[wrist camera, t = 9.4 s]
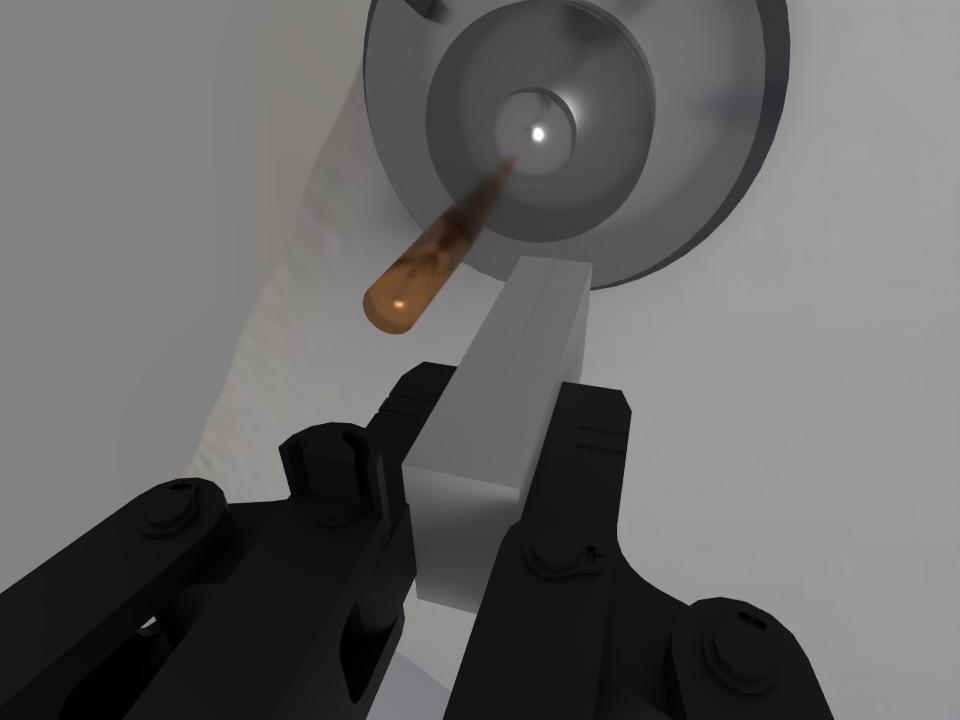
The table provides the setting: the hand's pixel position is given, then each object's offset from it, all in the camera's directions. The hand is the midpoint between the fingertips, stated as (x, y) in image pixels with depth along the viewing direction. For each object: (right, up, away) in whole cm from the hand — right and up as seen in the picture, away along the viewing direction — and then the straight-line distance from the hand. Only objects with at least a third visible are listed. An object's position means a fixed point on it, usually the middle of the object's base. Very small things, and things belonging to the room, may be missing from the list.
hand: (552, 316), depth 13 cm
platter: (+1, +10, +12) cm, 16 cm away
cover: (+1, +9, +11) cm, 14 cm away
